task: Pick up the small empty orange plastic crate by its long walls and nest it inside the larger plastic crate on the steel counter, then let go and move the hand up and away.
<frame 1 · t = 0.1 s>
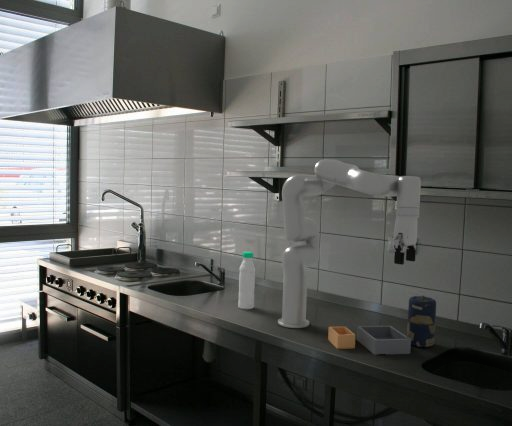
hand: (404, 262, 176), 31 cm above the counter, tool pointing down, fingers open, 9 cm apart
small crate: (341, 344, 184), on the counter
canister: (420, 345, 186), on the counter
big crate: (382, 346, 183), on the counter
water bottle: (246, 308, 229), on the counter
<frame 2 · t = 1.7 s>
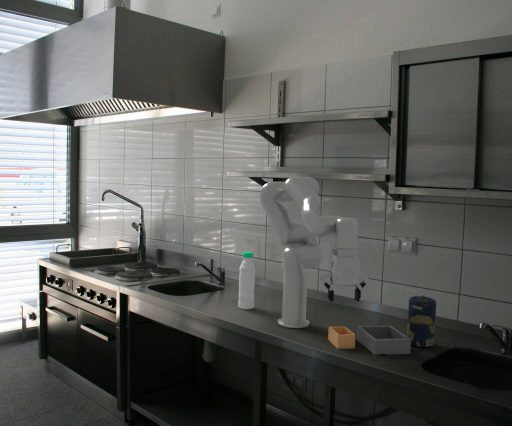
hand: (344, 300, 182), 16 cm above the counter, tool pointing down, fingers open, 9 cm apart
nothing on the counter moved.
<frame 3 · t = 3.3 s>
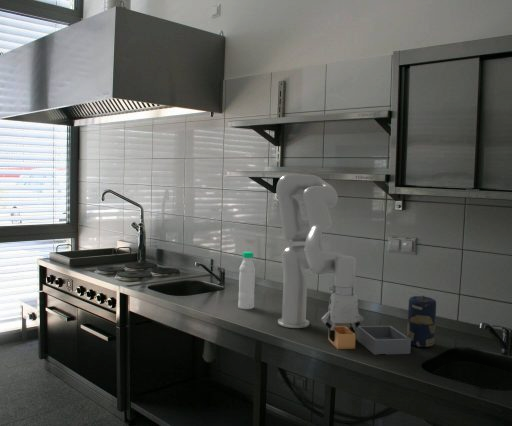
hand: (341, 339, 184), 2 cm above the counter, tool pointing down, fingers closed on small crate, 6 cm apart
small crate: (341, 343, 184), on the counter, touching gripper
everything else where it was.
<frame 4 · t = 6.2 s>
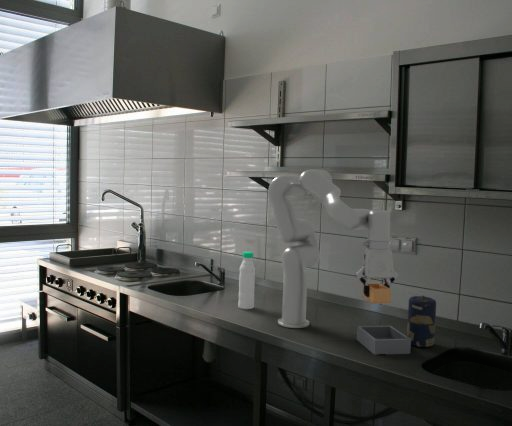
hand: (376, 295, 181), 18 cm above the counter, tool pointing down, fingers closed on small crate, 6 cm apart
small crate: (376, 300, 181), point 17 cm above the counter, touching gripper
everything else where it was.
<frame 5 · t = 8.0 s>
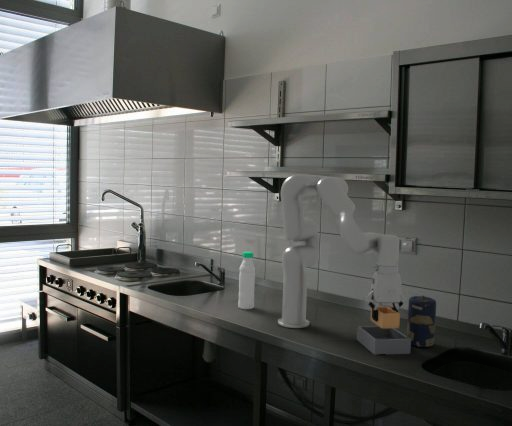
hand: (384, 319, 182), 10 cm above the counter, tool pointing down, fingers closed on small crate, 6 cm apart
small crate: (384, 324, 182), point 8 cm above the counter, touching gripper
everything else where it was.
when the fingers open (5 cm above the counter, at t = 9.4 s): small crate drops 2 cm, resting on big crate.
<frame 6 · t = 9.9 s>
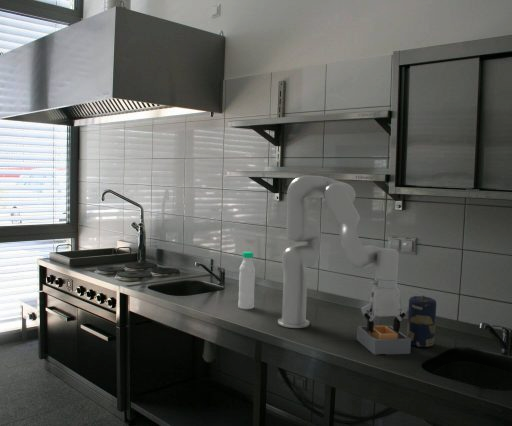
hand: (383, 331, 182), 6 cm above the counter, tool pointing down, fingers open, 9 cm apart
small crate: (382, 343, 183), point 1 cm above the counter, touching big crate
everything else where it was.
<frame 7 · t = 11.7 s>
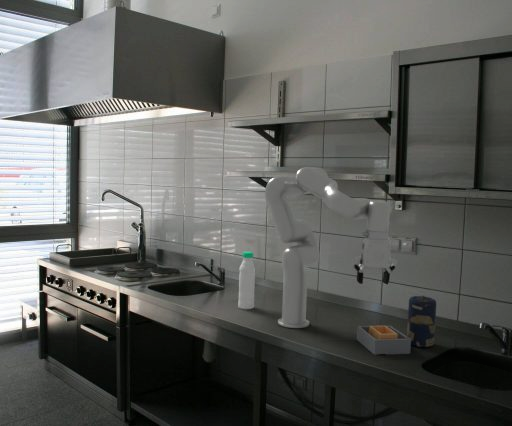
hand: (372, 283, 183), 22 cm above the counter, tool pointing down, fingers open, 9 cm apart
nothing on the counter moved.
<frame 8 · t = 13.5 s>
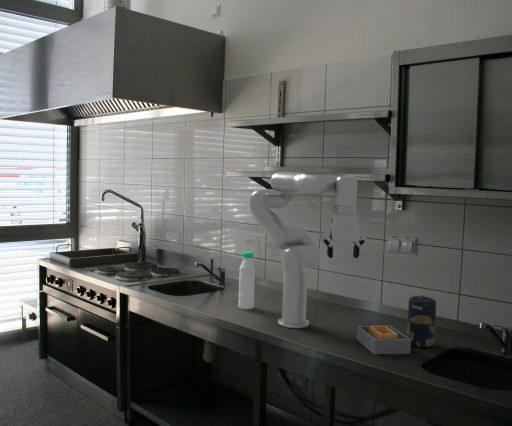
hand: (343, 257, 187), 30 cm above the counter, tool pointing down, fingers open, 9 cm apart
nothing on the counter moved.
at the end: small crate 0.1 cm off-centre on the big crate, point 1.0 cm above the big crate's base; small crate tilted 0°; the gripper is holding nothing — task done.
